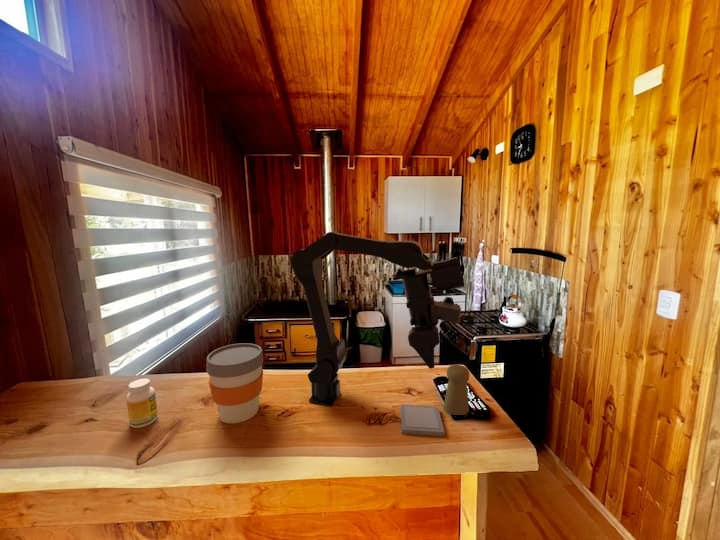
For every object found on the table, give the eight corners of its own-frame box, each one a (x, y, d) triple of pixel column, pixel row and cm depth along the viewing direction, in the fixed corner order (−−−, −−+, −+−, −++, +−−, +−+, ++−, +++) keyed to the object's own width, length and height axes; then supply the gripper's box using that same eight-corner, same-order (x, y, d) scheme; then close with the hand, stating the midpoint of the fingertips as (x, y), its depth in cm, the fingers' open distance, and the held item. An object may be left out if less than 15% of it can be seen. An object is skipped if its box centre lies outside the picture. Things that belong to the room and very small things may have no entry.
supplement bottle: (133, 417, 71) (127, 379, 69) (159, 411, 73) (155, 374, 71) (127, 431, 66) (121, 391, 64) (156, 424, 68) (151, 385, 67)
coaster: (402, 433, 65) (402, 429, 65) (400, 408, 74) (400, 404, 74) (444, 436, 64) (444, 431, 64) (437, 410, 73) (437, 406, 73)
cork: (471, 418, 70) (473, 374, 68) (444, 415, 71) (446, 372, 69) (467, 403, 76) (469, 362, 74) (442, 400, 77) (444, 360, 75)
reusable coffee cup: (276, 410, 73) (272, 352, 71) (224, 437, 64) (218, 371, 62) (251, 390, 82) (247, 338, 79) (202, 412, 72) (196, 354, 70)
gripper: (457, 299, 57) (472, 375, 59) (452, 280, 75) (463, 339, 77) (401, 308, 60) (416, 380, 62) (408, 288, 78) (420, 344, 80)
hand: (431, 358), depth 70 cm, fingers open, 9 cm apart
